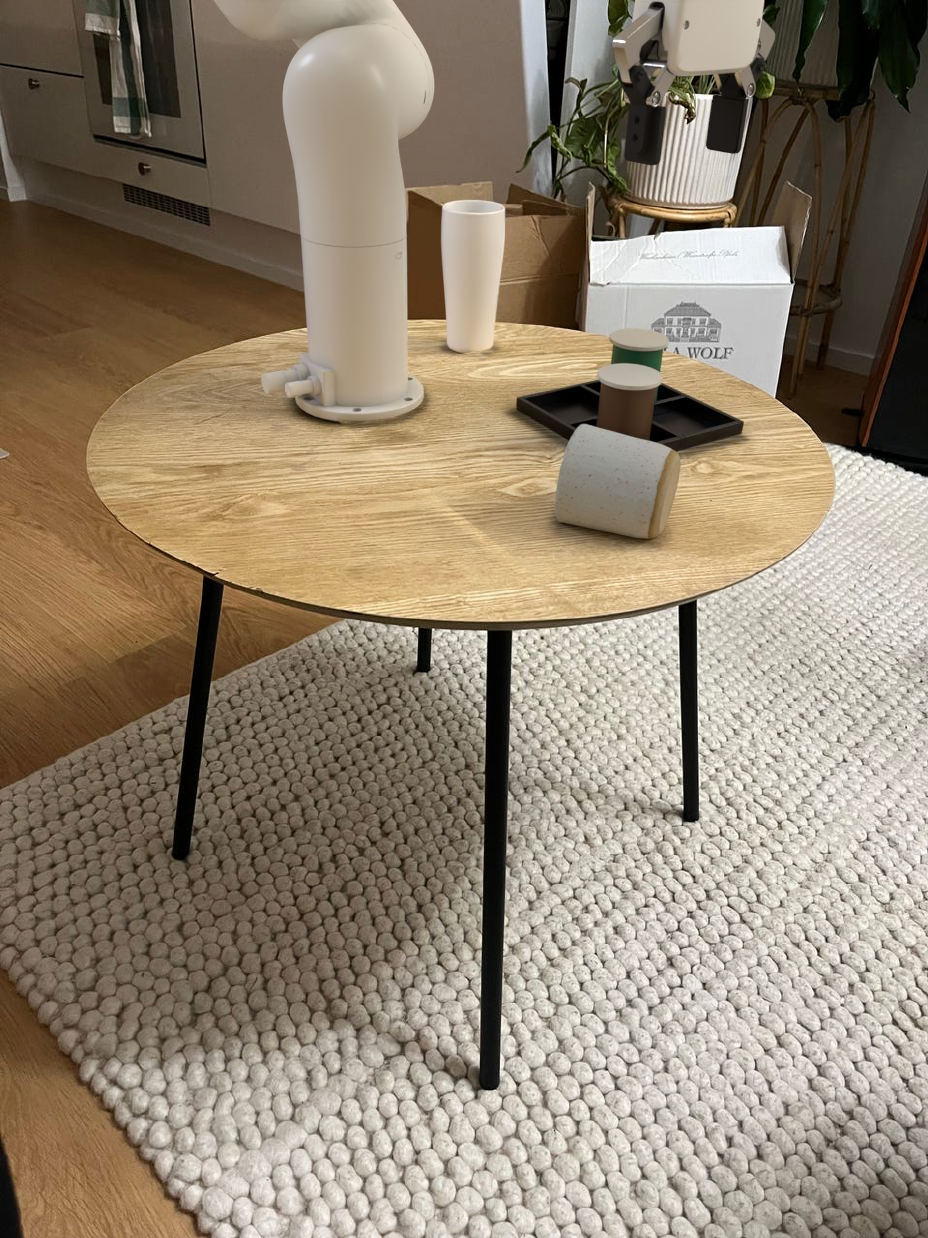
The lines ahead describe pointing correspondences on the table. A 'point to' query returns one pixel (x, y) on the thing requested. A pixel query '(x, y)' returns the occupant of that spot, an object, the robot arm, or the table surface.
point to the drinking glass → (471, 271)
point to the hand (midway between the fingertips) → (683, 156)
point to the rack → (672, 421)
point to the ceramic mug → (616, 483)
